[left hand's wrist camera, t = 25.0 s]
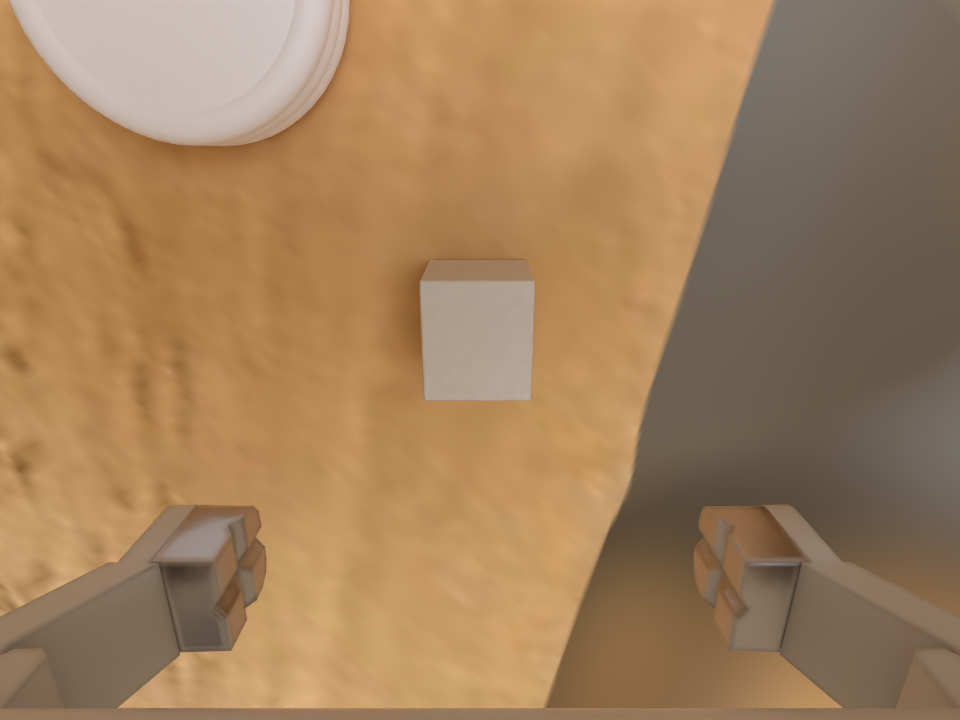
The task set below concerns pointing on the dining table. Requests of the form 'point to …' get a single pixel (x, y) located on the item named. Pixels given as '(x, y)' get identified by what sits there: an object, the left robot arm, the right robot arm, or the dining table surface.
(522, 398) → the light grey cube
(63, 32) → the white round disc
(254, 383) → the dining table surface
